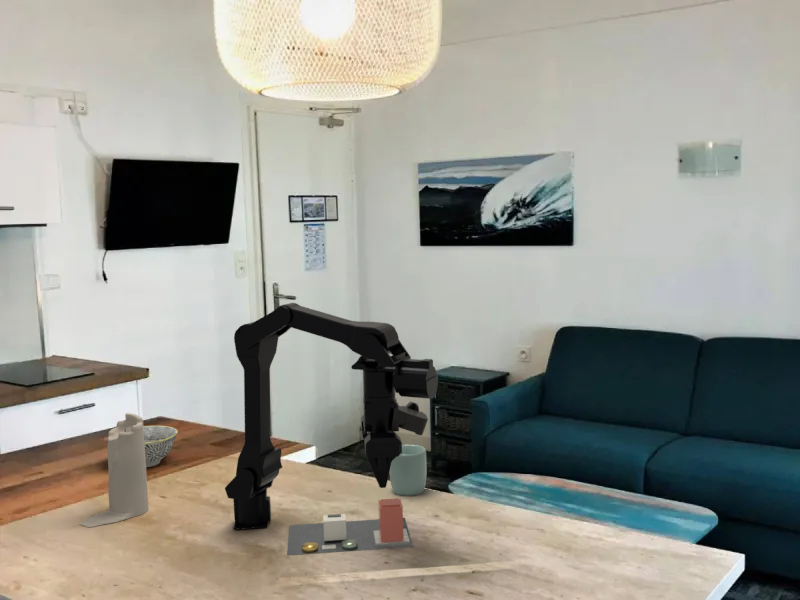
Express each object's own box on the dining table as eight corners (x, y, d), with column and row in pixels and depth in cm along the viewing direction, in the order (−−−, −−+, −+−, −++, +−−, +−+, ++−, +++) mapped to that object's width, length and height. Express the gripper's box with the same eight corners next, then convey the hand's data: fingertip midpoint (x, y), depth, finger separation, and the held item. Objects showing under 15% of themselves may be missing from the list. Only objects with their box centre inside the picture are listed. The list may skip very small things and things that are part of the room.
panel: (287, 562, 144) (286, 551, 144) (289, 531, 158) (289, 521, 157) (413, 553, 146) (413, 542, 146) (404, 523, 160) (404, 514, 160)
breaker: (324, 541, 149) (323, 520, 148) (324, 534, 152) (323, 514, 151) (346, 539, 149) (345, 519, 149) (345, 533, 152) (345, 513, 152)
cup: (423, 503, 171) (422, 455, 170) (386, 501, 172) (385, 454, 171) (429, 490, 178) (428, 444, 177) (394, 488, 180) (393, 443, 179)
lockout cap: (381, 540, 147) (379, 506, 147) (379, 532, 151) (378, 498, 151) (403, 539, 148) (402, 505, 147) (401, 530, 152) (400, 497, 151)
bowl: (193, 459, 206) (191, 429, 206) (142, 477, 193) (140, 446, 192) (149, 451, 215) (147, 422, 214) (97, 468, 202) (95, 437, 201)
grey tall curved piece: (74, 522, 166) (66, 424, 164) (137, 502, 176) (131, 410, 174) (91, 530, 161) (84, 429, 159) (155, 510, 171) (149, 415, 169)
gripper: (430, 405, 140) (431, 494, 142) (418, 382, 159) (419, 461, 160) (364, 407, 139) (366, 497, 141) (359, 384, 158) (361, 464, 159)
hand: (381, 479), depth 150 cm, fingers open, 9 cm apart
